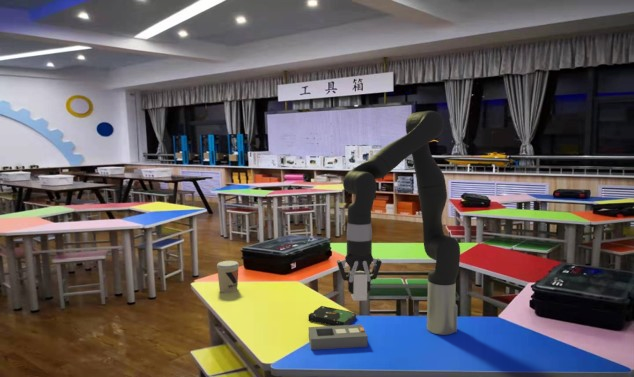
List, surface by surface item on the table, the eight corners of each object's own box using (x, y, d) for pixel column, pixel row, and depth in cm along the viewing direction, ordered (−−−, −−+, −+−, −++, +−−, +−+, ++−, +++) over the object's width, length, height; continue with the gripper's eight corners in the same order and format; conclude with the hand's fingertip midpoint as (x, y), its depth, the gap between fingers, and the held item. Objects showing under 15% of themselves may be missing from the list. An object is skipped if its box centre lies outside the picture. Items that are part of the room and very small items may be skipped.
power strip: (361, 334, 149) (361, 323, 149) (367, 346, 140) (367, 334, 140) (308, 337, 147) (308, 325, 147) (311, 349, 138) (311, 337, 138)
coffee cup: (229, 294, 188) (228, 267, 187) (213, 290, 193) (212, 264, 192) (243, 288, 196) (242, 262, 195) (227, 284, 201) (226, 259, 200)
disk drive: (308, 322, 161) (345, 329, 154) (307, 314, 161) (345, 321, 154) (321, 312, 170) (356, 319, 163) (320, 305, 170) (356, 311, 163)
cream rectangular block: (364, 295, 137) (364, 270, 136) (366, 300, 133) (367, 274, 132) (351, 296, 136) (351, 270, 135) (353, 300, 132) (354, 274, 131)
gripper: (379, 234, 137) (378, 287, 139) (333, 235, 135) (334, 289, 137) (385, 239, 129) (384, 296, 131) (337, 241, 128) (337, 298, 130)
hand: (358, 292), depth 134 cm, fingers closed on cream rectangular block, 4 cm apart
